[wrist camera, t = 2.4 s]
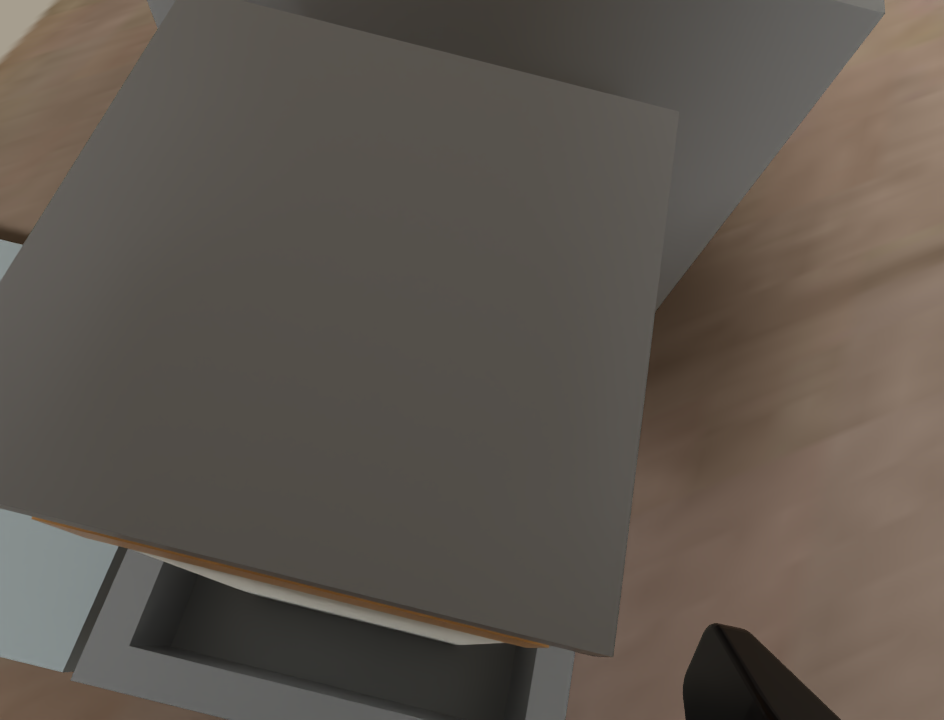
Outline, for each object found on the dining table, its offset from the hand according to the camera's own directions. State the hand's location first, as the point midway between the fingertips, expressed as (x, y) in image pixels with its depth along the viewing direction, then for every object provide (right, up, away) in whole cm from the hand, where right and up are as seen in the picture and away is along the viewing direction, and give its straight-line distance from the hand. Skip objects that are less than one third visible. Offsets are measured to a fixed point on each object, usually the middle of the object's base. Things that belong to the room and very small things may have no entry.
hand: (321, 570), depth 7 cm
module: (-1, -2, +9) cm, 10 cm away
